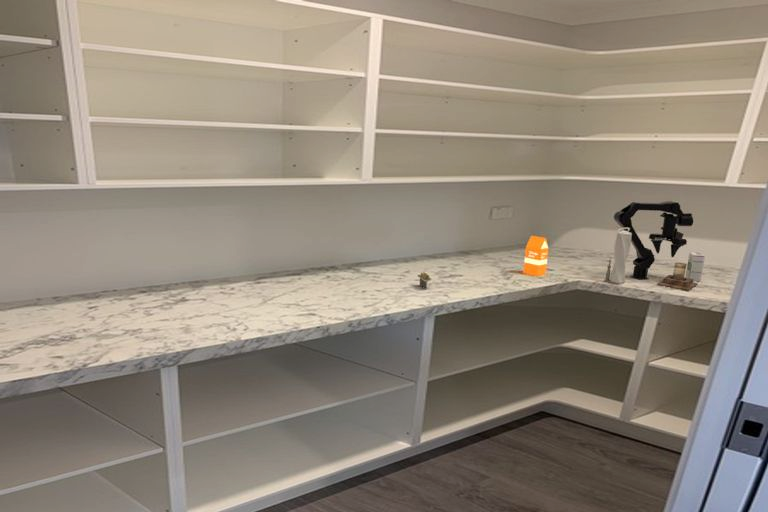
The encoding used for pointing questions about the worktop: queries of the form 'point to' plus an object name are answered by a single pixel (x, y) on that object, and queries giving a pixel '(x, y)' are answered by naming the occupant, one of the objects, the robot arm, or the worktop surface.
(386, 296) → the worktop surface
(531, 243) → the orange juice
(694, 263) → the syrup box
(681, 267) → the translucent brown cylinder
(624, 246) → the skyscraper
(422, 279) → the olive brown upright piece
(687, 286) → the walnut dock
